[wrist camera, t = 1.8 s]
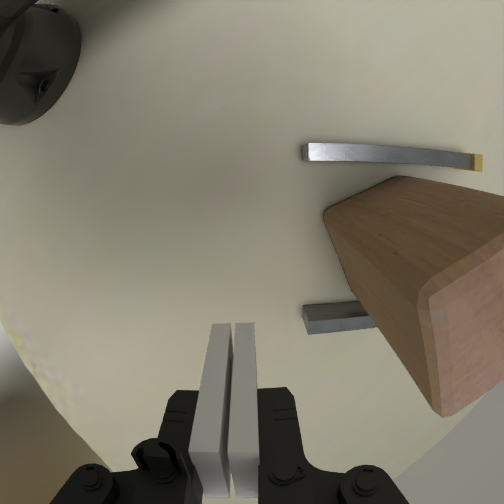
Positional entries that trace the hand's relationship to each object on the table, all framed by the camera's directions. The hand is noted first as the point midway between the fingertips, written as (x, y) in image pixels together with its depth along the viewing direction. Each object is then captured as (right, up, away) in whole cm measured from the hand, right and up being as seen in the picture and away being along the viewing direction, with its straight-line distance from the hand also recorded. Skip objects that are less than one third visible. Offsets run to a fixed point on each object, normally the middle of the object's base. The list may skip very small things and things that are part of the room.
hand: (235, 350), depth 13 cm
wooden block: (+14, +6, +18) cm, 23 cm away
